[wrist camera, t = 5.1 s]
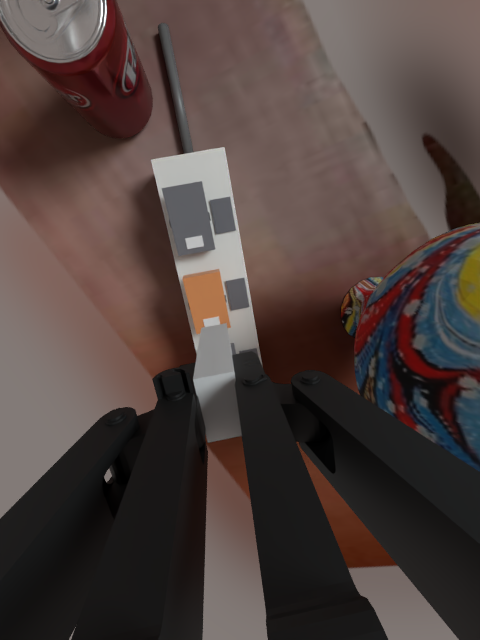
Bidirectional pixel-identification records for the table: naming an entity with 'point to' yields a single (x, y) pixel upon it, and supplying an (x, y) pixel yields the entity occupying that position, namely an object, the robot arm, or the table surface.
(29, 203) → the table surface
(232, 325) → the power strip
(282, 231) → the table surface
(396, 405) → the vase
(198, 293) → the rocker middle
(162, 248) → the table surface
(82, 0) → the soda can
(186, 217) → the rocker
